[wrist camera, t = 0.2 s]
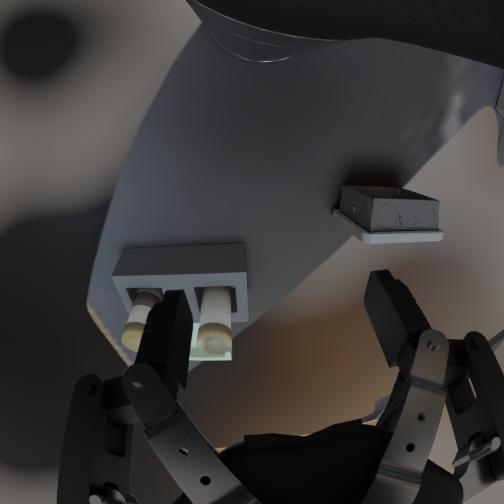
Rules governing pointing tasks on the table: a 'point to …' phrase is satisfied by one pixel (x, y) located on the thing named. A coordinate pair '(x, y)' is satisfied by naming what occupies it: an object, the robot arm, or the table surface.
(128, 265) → the holder block
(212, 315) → the fuse
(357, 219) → the electrical switch
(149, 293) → the fuse
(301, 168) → the table surface
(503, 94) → the coffee box
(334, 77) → the table surface
